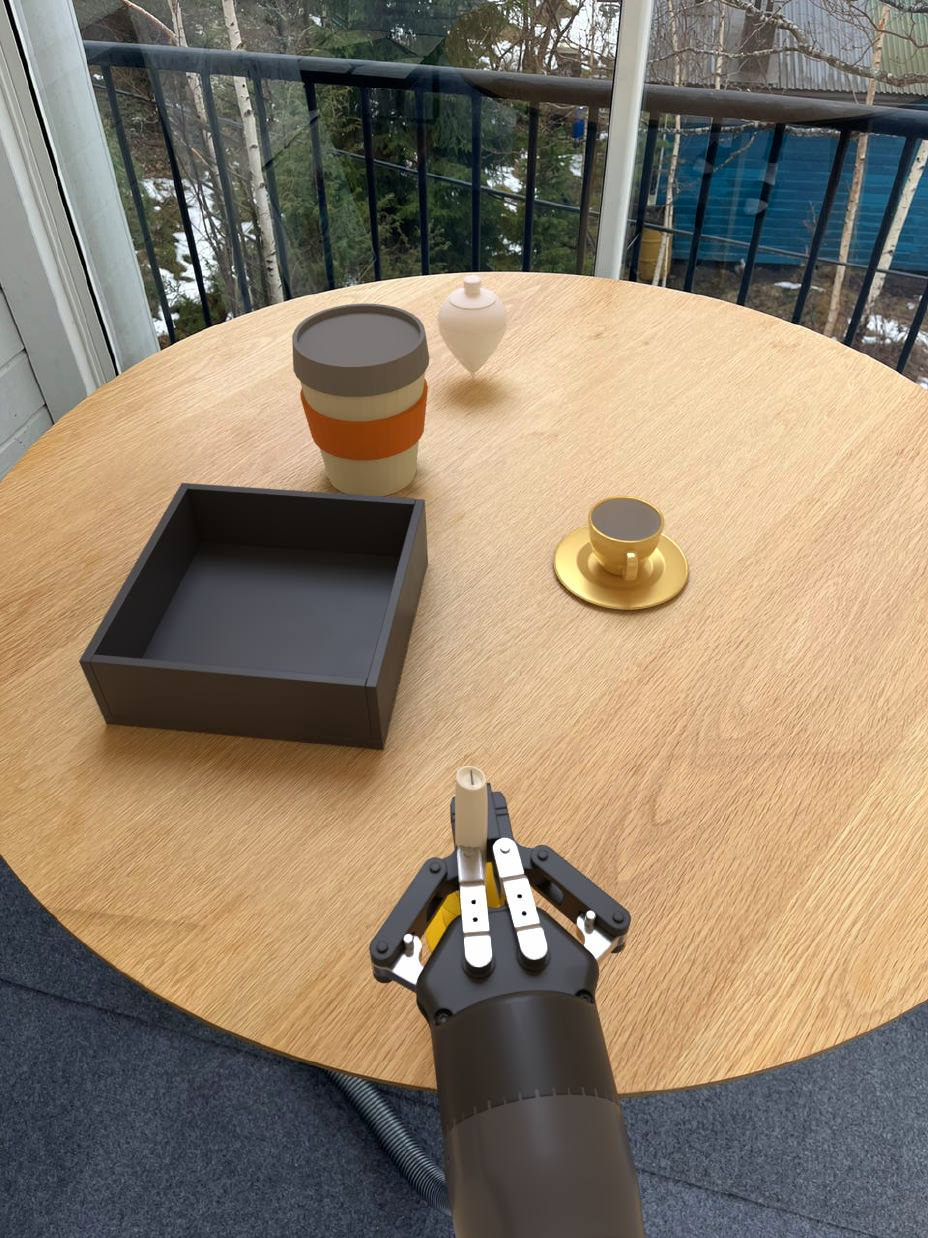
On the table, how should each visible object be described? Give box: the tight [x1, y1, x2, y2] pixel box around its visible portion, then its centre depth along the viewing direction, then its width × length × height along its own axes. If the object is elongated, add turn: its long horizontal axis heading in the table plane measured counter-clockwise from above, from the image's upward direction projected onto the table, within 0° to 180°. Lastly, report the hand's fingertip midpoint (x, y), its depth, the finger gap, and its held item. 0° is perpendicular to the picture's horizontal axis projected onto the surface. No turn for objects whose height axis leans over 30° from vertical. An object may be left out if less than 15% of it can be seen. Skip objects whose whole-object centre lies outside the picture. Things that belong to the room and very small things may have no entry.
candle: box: [425, 765, 500, 954], centre depth 49 cm, size 5×5×16 cm
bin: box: [78, 482, 429, 751], centre depth 76 cm, size 22×22×7 cm
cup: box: [552, 495, 690, 611], centre depth 82 cm, size 12×12×5 cm
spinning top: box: [437, 275, 509, 381], centre depth 104 cm, size 8×8×12 cm
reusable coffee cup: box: [291, 303, 430, 497], centre depth 90 cm, size 12×13×15 cm
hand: (474, 793), depth 51 cm, fingers closed
